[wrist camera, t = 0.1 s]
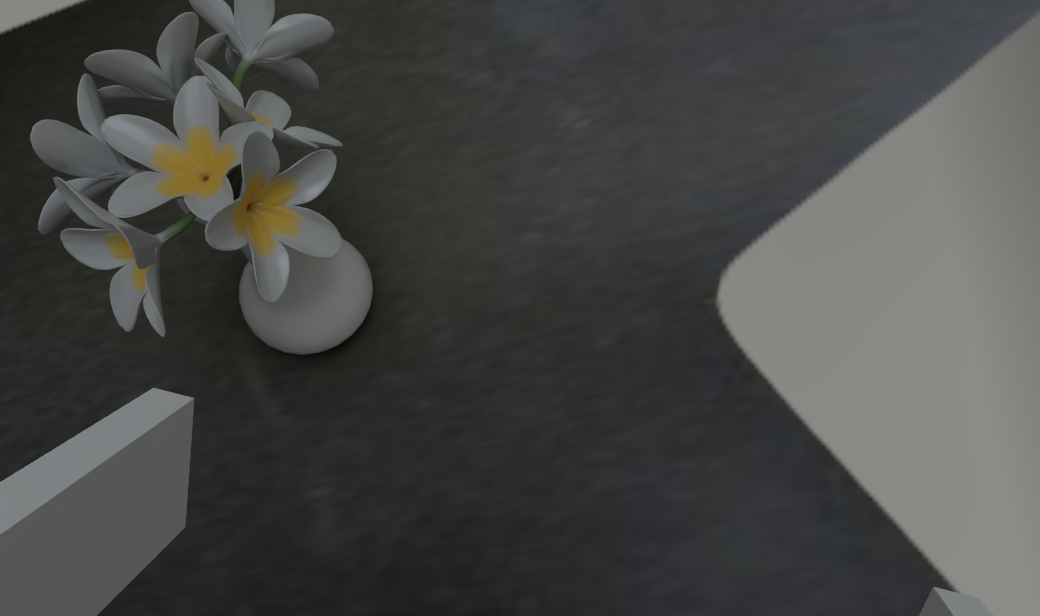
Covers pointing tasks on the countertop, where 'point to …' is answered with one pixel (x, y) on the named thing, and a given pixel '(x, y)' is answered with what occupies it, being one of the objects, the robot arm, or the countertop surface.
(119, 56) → the flower vase
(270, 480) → the countertop surface
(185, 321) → the countertop surface
